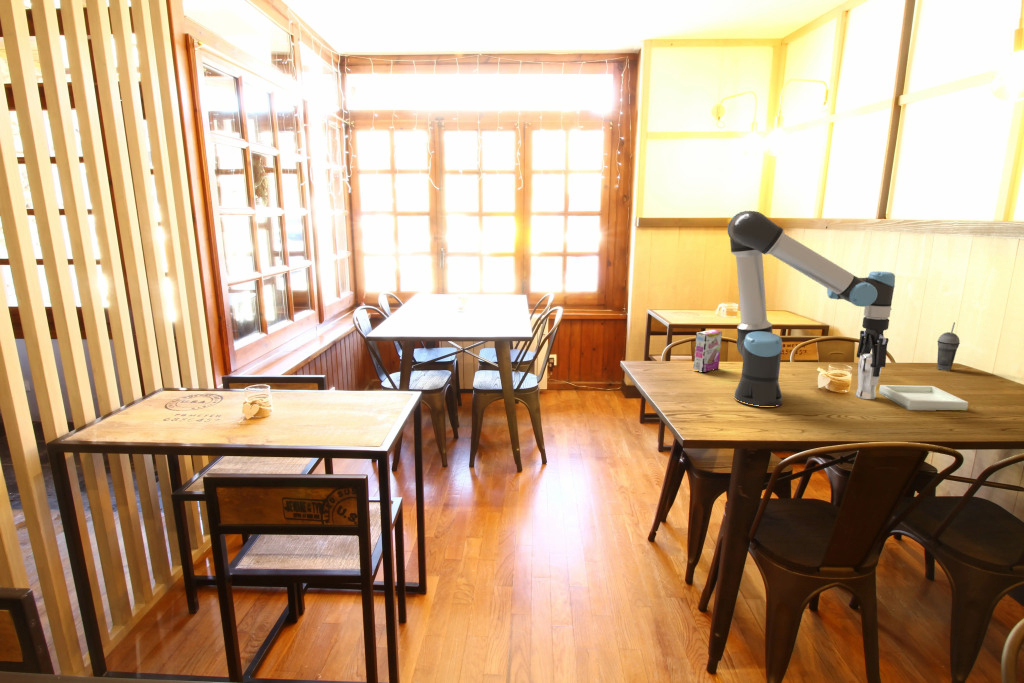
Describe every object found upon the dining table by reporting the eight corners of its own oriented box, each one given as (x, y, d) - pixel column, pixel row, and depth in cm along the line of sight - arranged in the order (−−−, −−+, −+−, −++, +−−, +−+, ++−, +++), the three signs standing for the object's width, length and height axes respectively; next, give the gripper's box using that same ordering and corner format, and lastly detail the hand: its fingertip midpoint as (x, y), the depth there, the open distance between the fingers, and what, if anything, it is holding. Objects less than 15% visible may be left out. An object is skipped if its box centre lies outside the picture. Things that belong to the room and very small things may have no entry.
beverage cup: (945, 367, 235) (953, 320, 230) (959, 371, 228) (968, 323, 223) (928, 367, 234) (936, 320, 230) (942, 372, 227) (950, 323, 223)
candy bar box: (703, 373, 228) (706, 334, 224) (692, 371, 232) (695, 332, 228) (719, 369, 234) (722, 330, 231) (709, 366, 238) (712, 329, 235)
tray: (908, 409, 184) (909, 401, 184) (878, 392, 202) (879, 384, 201) (966, 411, 183) (968, 402, 182) (931, 393, 200) (933, 385, 200)
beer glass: (881, 398, 196) (887, 357, 192) (867, 401, 193) (873, 359, 190) (863, 392, 202) (868, 352, 199) (849, 395, 200) (854, 354, 196)
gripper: (905, 322, 182) (894, 390, 187) (872, 312, 201) (864, 374, 206) (880, 322, 182) (871, 390, 187) (850, 312, 201) (842, 374, 206)
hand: (867, 381), depth 197 cm, fingers closed on beer glass, 7 cm apart
